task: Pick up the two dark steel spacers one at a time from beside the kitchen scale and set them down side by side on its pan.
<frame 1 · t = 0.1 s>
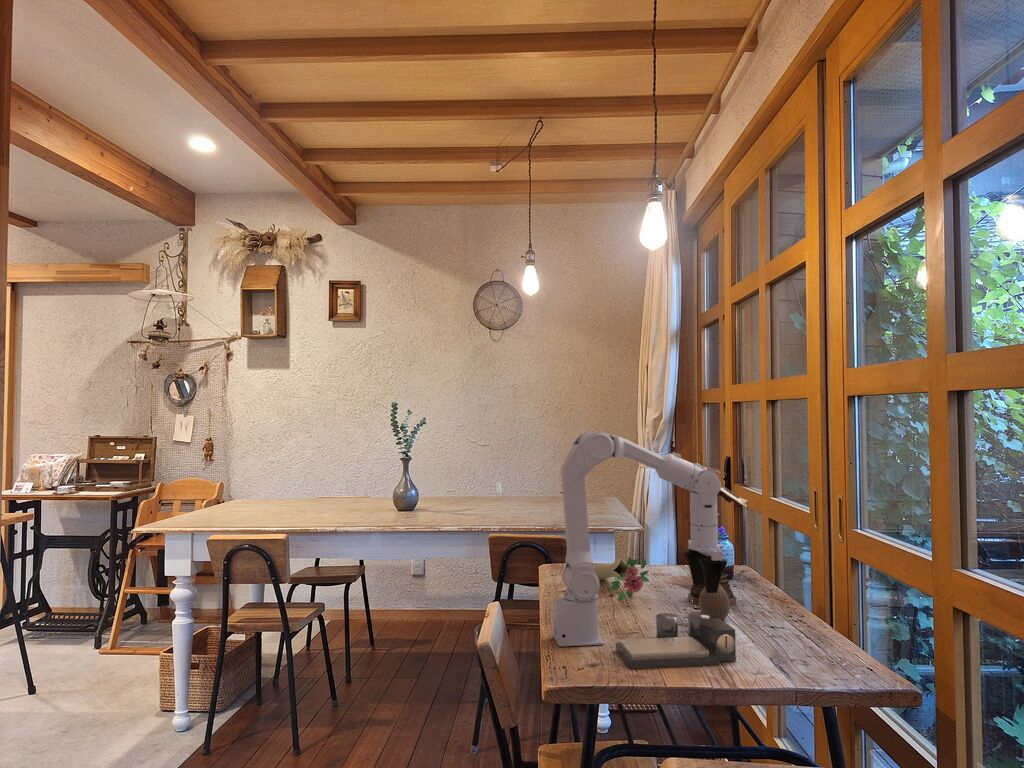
hand: (705, 588, 155), 10 cm above the table, tool pointing down, fingers open, 7 cm apart
scale: (665, 657, 140), on the table
flower vase: (619, 594, 193), on the table
spacer a: (667, 640, 152), on the table
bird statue: (720, 601, 184), on the table
brown egg-shaped piece: (714, 619, 167), on the table
spacer b: (699, 638, 153), on the table
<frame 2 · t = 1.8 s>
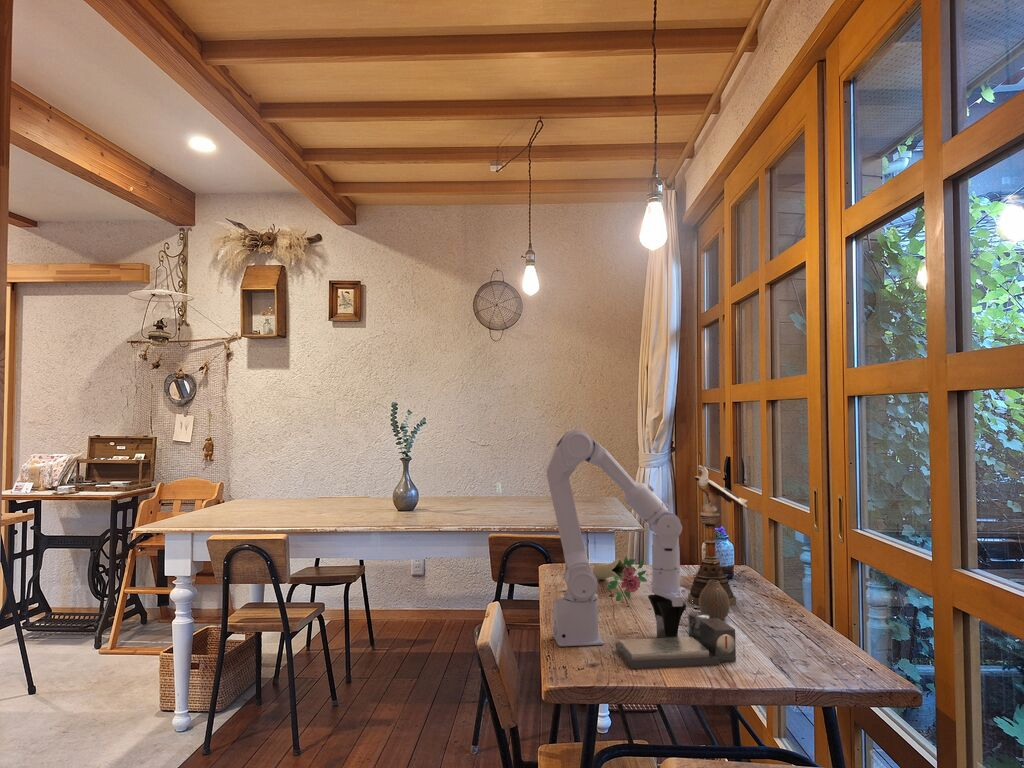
hand: (667, 633, 152), 1 cm above the table, tool pointing down, fingers closed on spacer a, 4 cm apart
spacer a: (667, 639, 152), on the table, touching gripper
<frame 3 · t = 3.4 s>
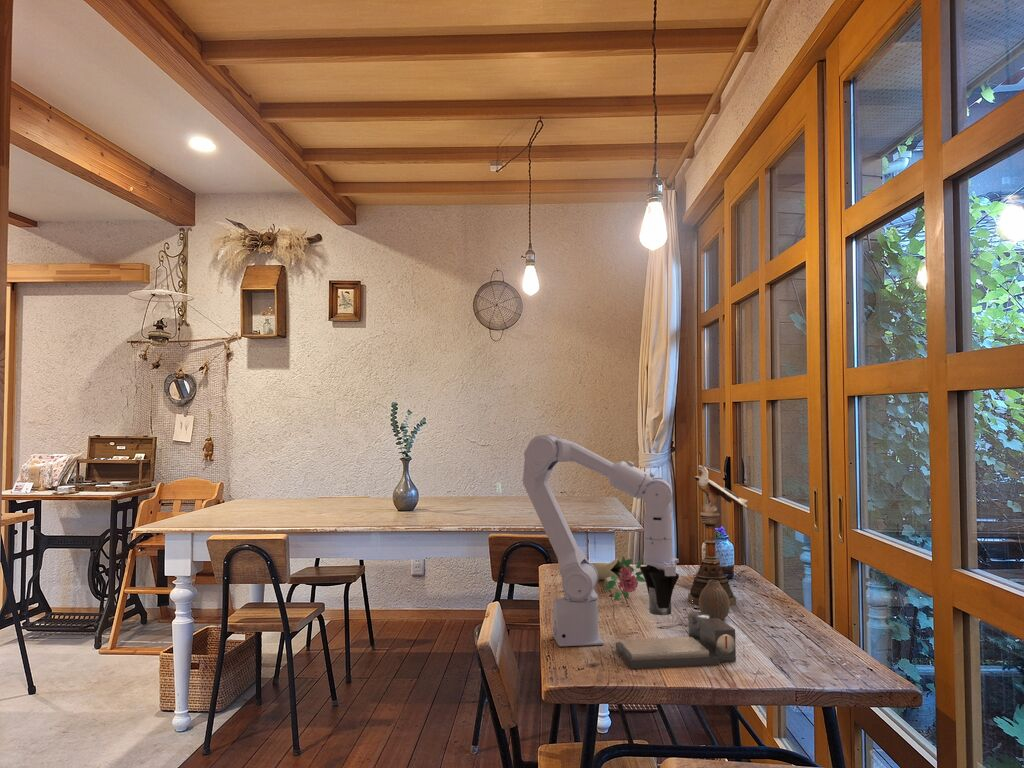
hand: (659, 604, 148), 8 cm above the table, tool pointing down, fingers closed on spacer a, 4 cm apart
spacer a: (660, 612, 148), point 7 cm above the table, touching gripper
when the fingers open (5 cm above the table, at t = 4.9 s): spacer a drops 1 cm, resting on scale.
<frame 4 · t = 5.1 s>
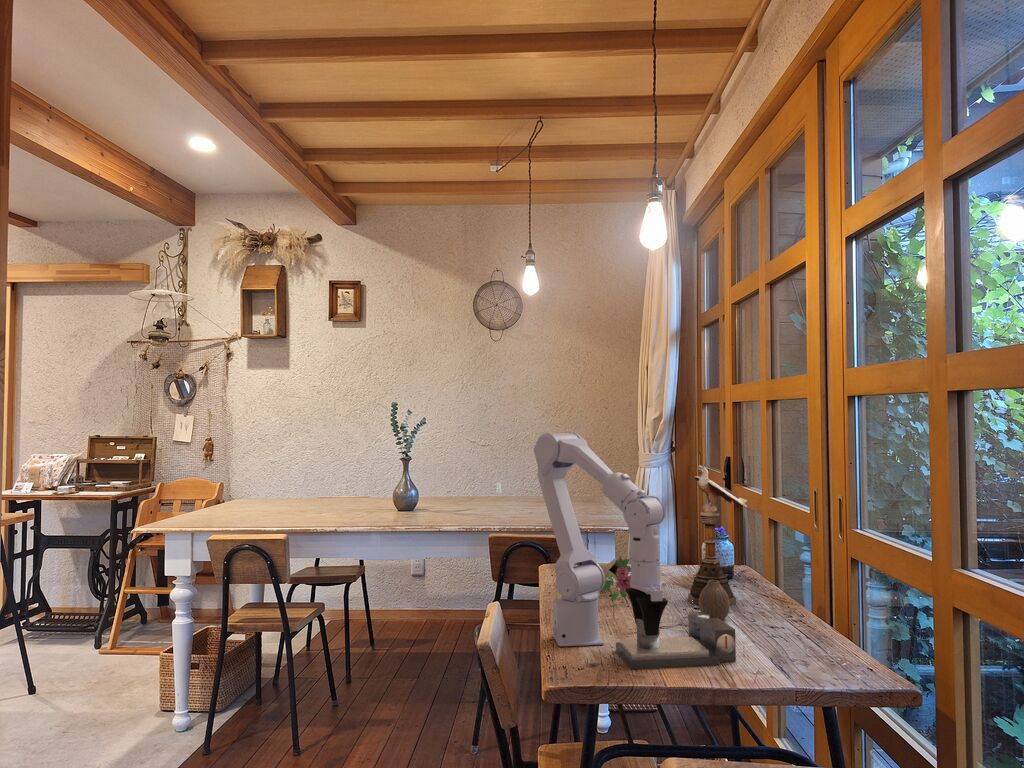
hand: (646, 630, 140), 5 cm above the table, tool pointing down, fingers open, 6 cm apart
spacer a: (648, 645, 140), point 2 cm above the table, touching scale
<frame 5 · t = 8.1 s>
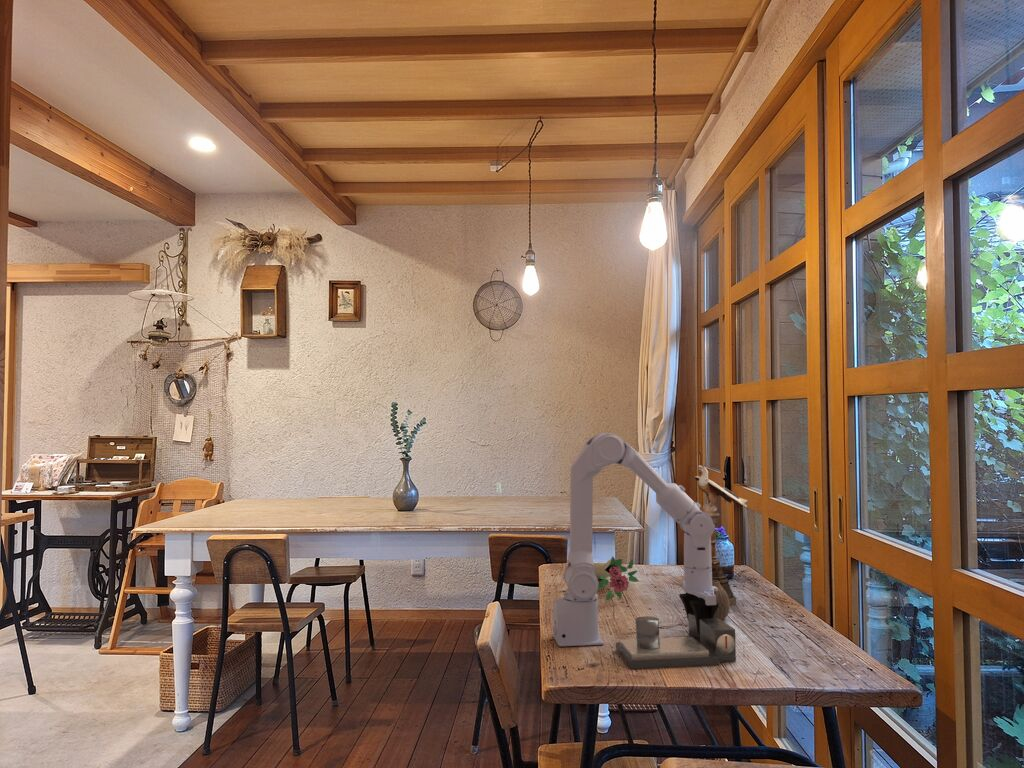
hand: (699, 631, 153), 1 cm above the table, tool pointing down, fingers closed on spacer b, 4 cm apart
spacer b: (699, 638, 153), on the table, touching gripper
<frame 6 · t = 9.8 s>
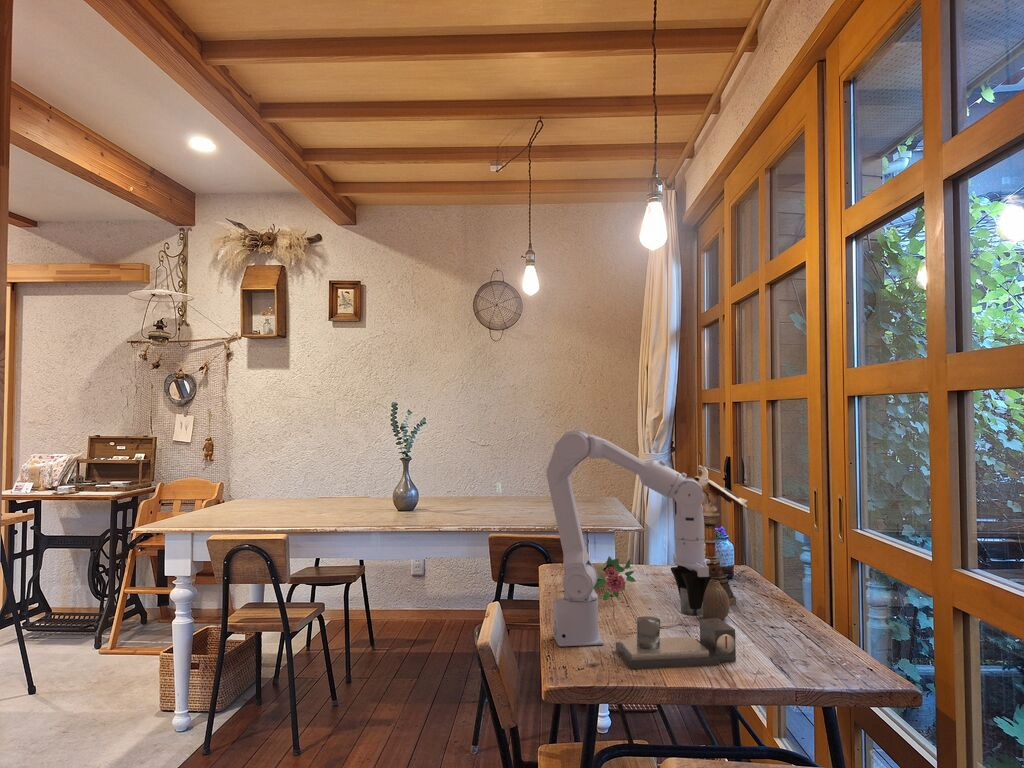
hand: (691, 605, 147), 8 cm above the table, tool pointing down, fingers closed on spacer b, 4 cm apart
spacer b: (691, 613, 147), point 7 cm above the table, touching gripper
when the fingers open (5 cm above the table, at t = 11.2 s): spacer b drops 1 cm, resting on scale.
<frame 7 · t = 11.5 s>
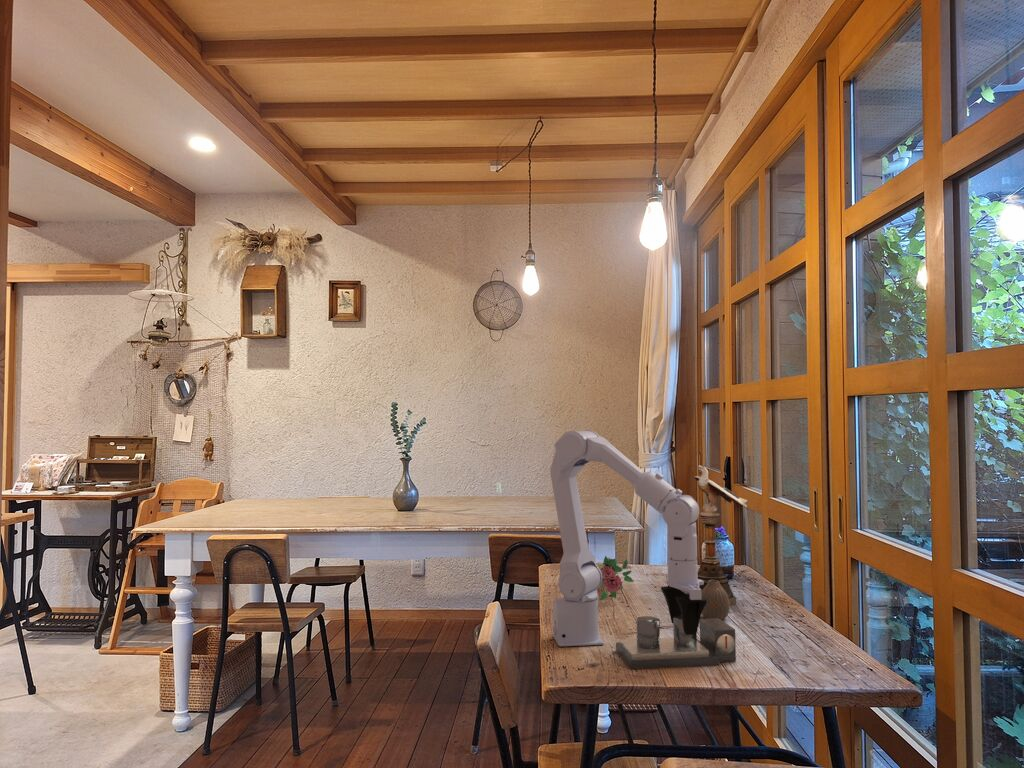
hand: (683, 628, 141), 5 cm above the table, tool pointing down, fingers open, 7 cm apart
spacer b: (685, 644, 141), point 2 cm above the table, touching scale
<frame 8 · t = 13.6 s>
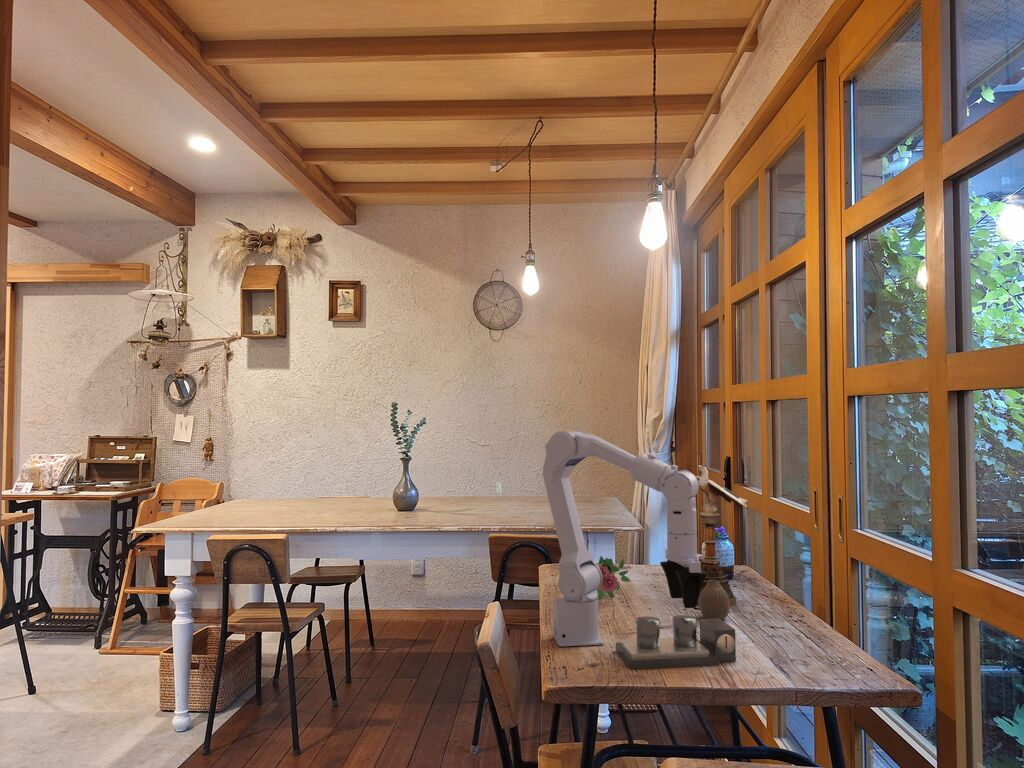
hand: (683, 602, 141), 10 cm above the table, tool pointing down, fingers open, 7 cm apart
at the end: spacer a inside the target area on the scale (2.9 cm from its centre), point 2.5 cm above the scale's base; spacer b inside the target area on the scale (4.5 cm from its centre), point 2.4 cm above the scale's base; the gripper is holding nothing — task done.
